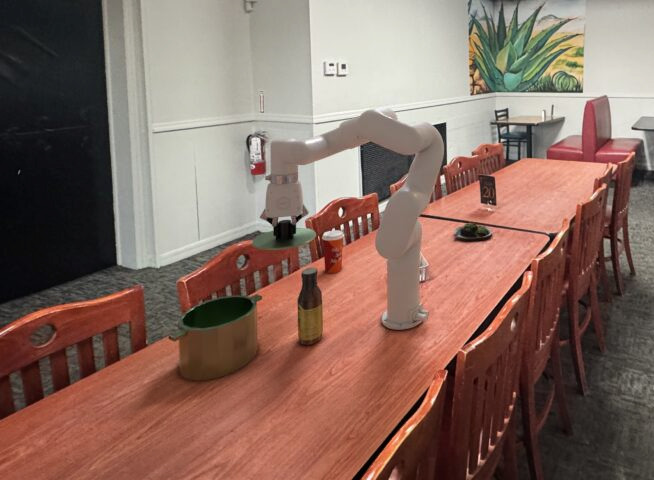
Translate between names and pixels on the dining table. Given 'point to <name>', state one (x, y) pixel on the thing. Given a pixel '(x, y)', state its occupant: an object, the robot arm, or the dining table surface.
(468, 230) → the salad plate
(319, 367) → the dining table surface
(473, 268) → the dining table surface
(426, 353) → the dining table surface
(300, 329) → the sauce bottle
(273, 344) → the dining table surface
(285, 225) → the tin lid
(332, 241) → the paper cup
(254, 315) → the cooking pot
